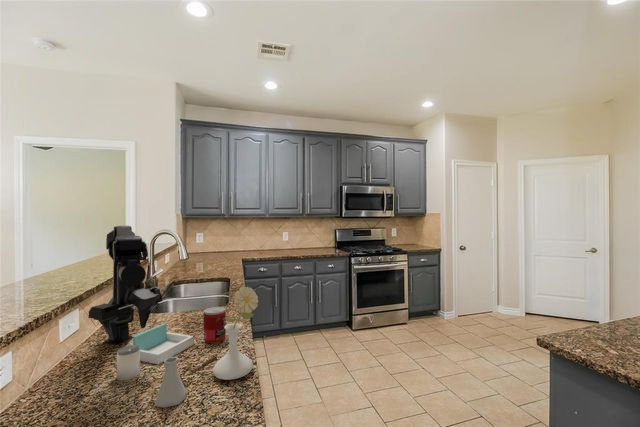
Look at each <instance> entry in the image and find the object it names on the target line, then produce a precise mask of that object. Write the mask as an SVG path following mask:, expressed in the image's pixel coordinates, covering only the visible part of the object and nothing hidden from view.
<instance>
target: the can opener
mask: <svg viewBox="0 0 640 427" xmlns="http://www.w3.org/2000/svg"><path fill="white" fill-rule="evenodd" d="M215 360H217V356H213V357H211V358H210V359H208V360H207V361H205V362H203V363H202V365H200V366H197V367H195V368H194V369H193V370H192V372H197V370H200V369H204V367H206V366H207V365H209V364H211V363H212V362H214V361H215Z"/></svg>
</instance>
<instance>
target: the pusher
mask: <svg viewBox="0 0 640 427" xmlns="http://www.w3.org/2000/svg"><path fill="white" fill-rule="evenodd" d="M167 327H168V326H167V323H161V324H159V325H157V326H154V327H152V328H150V329H147V330H145V331H142V332H140V333H137V334H135V335H132V345H138V346H139V348H140V350H147V349H149V348H151V347H154V346H156V345H158V344H160V343H162V342H164V341H166V340H167V330H168V328H167Z"/></svg>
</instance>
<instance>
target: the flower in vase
mask: <svg viewBox="0 0 640 427" xmlns="http://www.w3.org/2000/svg"><path fill="white" fill-rule="evenodd" d="M234 293H235V294H234V298H233V300H234V303H233V304H234V306H235V307H236V308H237V309H238V311H239V315H238V316H237V318H234V317H228V316H227V315H226V319H227V320H230V321H235V322H232V323H228V324H226V326H224V328H225V329H226V333H227V337H228V344H229V345H228V346H229V347H228V351H227V353H225V355H224V356H222V357H221V358H220V359H219V360H218V361H217V362H216V363H215V364H214V365H213V369H212V374H213V375H214V377H216V378H218V379H219V380H226V381H227V380H228V381H229V380H236V379H240V378H242V377H245V376H247V375H248V374H249V373H250V372H252V370H253V367H254V363H253V361H252V359H251V358H249V356H247V355H246V354H244V353H242V352H240V351H239V349H238V348H239V347H238V336H239V333H240V330H241V328H242V326H243V325H242V323H240V322H239V323H238V321H239V319H240V317H241V318H243V319H244V320H249V319H251V318H252V317H254V316H255V315H254V313H253V311H254V310H256V308H257V307H259V306H258V303H259V300H258V298H259V296H258V295H257V294H256V291H254V289H253V288H252V287H249V286H246V287H245V286H241V287H239V290H236V291H235V292H234Z"/></svg>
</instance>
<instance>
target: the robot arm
mask: <svg viewBox="0 0 640 427" xmlns="http://www.w3.org/2000/svg"><path fill="white" fill-rule="evenodd" d="M132 229H133V228H132V226H131V225H116V226H113V230H111V231H110V232H109V233H107V234H106V239H105V240H106V241H105V248H106V250H108V251H107V252H108V255H109V257H110V259H112V264H113V266H112V269H113V270H112V297H111V298H110V299H109V301H108V303H101V304H97V305H95V306H91V307H90V308H89V310H88V318H89V319H93V320H94V321H95V320H96V321H98V322H99V323H100V324H101V326H102V327H103V329H104V330H105V332H106V334H107V335H108V338H107V339H105V340H103V341H104V343H109V344H114V345H118V344H120V343H122V342H125V341H128V340H129V339H131V338H132V339H133V335H130V333H129V332H130V330H129V329H130V327H129V326H130V325H129V323H130V324H131V323H133V322H134V321H135V318H134V317H135V309H134V306H135V307H136V308H137V311H138V319H139V325H140V328H141V329H145V328H146V325H147V322H148V321H149V318H150V315H151V312H152V311H153V309H154V308H156V307H157V306H158V305H159V304H160V302H163V295H162V293H161V288H160V287H158V286H155V287H152V288H147V289H146V288H145V283H144V280H145V279H146V275H147V271H146V269H145V268H144V267H143V266H142V264H141V262H142V261H147V258H148V257H149V251H148V245H147V243H146V241H145V240H144V239H142V237H141V236H140V235H136V233H135V232H134V231H133V230H132Z"/></svg>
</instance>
